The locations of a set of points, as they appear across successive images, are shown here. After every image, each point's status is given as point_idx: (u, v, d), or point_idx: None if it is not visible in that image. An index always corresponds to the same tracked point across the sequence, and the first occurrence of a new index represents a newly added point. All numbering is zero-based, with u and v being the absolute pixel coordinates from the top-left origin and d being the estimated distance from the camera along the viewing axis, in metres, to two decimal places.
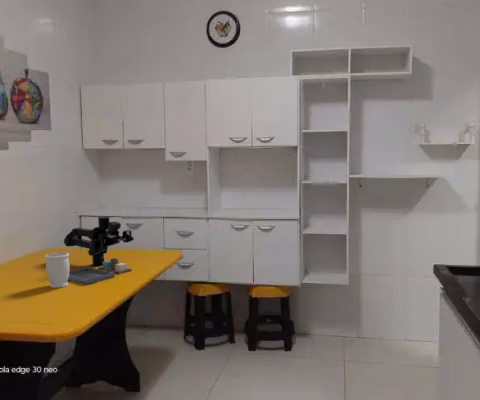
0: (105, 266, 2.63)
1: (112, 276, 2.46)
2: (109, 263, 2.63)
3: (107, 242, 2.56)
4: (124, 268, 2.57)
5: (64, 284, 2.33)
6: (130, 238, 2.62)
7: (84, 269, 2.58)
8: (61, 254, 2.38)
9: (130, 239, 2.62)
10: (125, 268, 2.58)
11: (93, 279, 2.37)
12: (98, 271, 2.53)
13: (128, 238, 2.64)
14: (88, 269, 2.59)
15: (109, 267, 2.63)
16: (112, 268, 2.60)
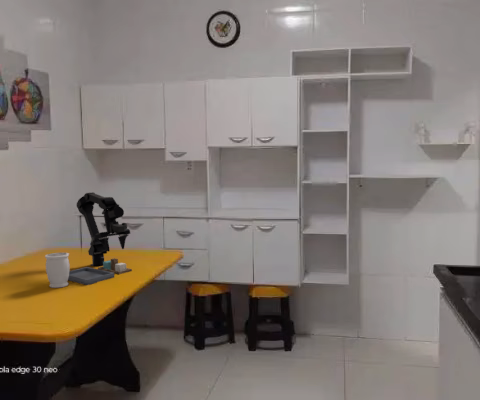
0: (106, 266, 2.62)
1: (112, 276, 2.46)
2: (109, 263, 2.63)
3: (101, 240, 2.55)
4: (124, 268, 2.58)
5: (64, 284, 2.33)
6: (122, 244, 2.63)
7: (84, 269, 2.58)
8: (61, 254, 2.38)
9: (121, 244, 2.63)
10: (125, 268, 2.58)
11: (93, 279, 2.37)
12: (98, 271, 2.53)
13: (121, 241, 2.64)
14: (88, 269, 2.59)
15: (109, 267, 2.63)
16: (112, 268, 2.60)
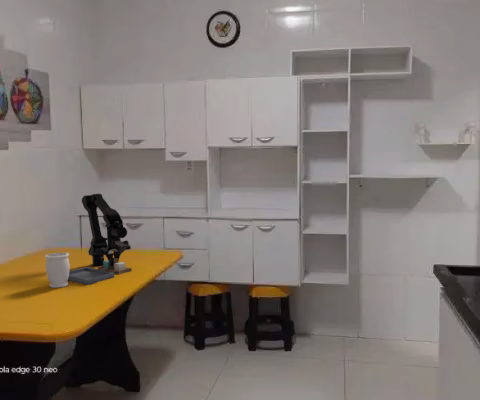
0: (106, 265, 2.62)
1: (112, 276, 2.46)
2: None
3: (106, 254, 2.58)
4: (123, 267, 2.58)
5: (64, 284, 2.33)
6: None
7: (84, 269, 2.58)
8: (61, 254, 2.38)
9: None
10: (124, 267, 2.58)
11: (93, 279, 2.37)
12: (98, 271, 2.53)
13: (115, 256, 2.62)
14: (88, 269, 2.59)
15: (110, 266, 2.62)
16: (112, 267, 2.60)
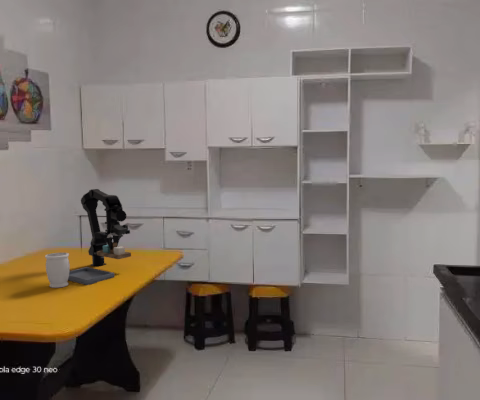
0: (106, 250, 2.61)
1: (112, 276, 2.46)
2: None
3: (105, 238, 2.57)
4: (122, 251, 2.57)
5: (64, 284, 2.33)
6: None
7: (84, 269, 2.58)
8: (61, 254, 2.38)
9: None
10: (123, 251, 2.57)
11: (93, 279, 2.37)
12: (98, 271, 2.53)
13: (115, 240, 2.61)
14: (88, 269, 2.59)
15: (109, 251, 2.61)
16: (111, 252, 2.59)
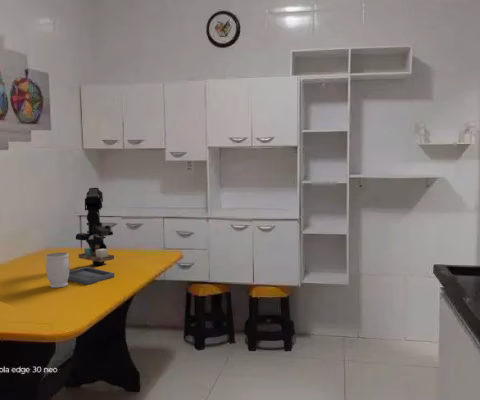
0: (87, 252, 2.52)
1: (112, 276, 2.46)
2: None
3: (87, 239, 2.48)
4: (105, 254, 2.48)
5: (64, 284, 2.33)
6: None
7: (84, 269, 2.58)
8: (61, 254, 2.38)
9: None
10: (106, 254, 2.48)
11: (93, 279, 2.37)
12: (98, 271, 2.53)
13: (97, 242, 2.52)
14: (88, 269, 2.59)
15: (91, 254, 2.52)
16: (93, 254, 2.50)
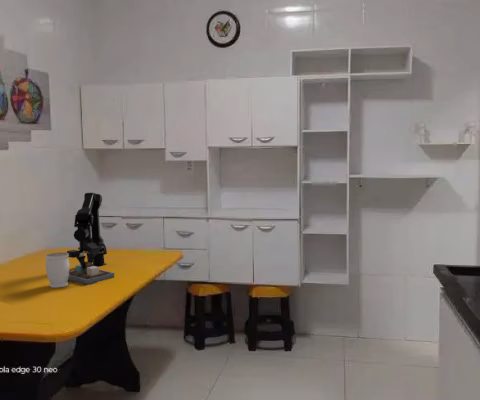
0: (79, 270, 2.48)
1: (112, 276, 2.46)
2: None
3: (77, 256, 2.44)
4: (96, 271, 2.44)
5: (64, 284, 2.33)
6: None
7: None
8: (61, 254, 2.38)
9: None
10: (97, 271, 2.45)
11: (93, 279, 2.37)
12: None
13: (89, 258, 2.49)
14: None
15: None
16: (84, 272, 2.47)
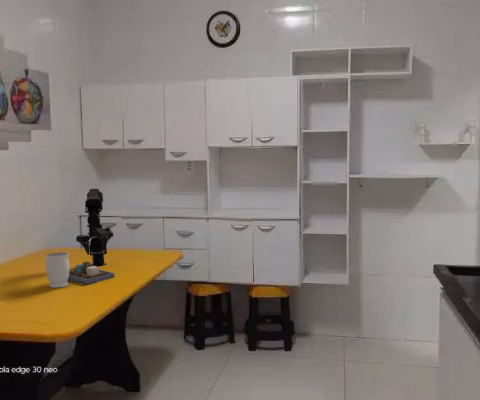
0: (79, 270, 2.48)
1: (112, 276, 2.46)
2: None
3: (82, 242, 2.48)
4: (96, 271, 2.44)
5: (64, 284, 2.33)
6: (103, 246, 2.57)
7: None
8: (61, 254, 2.38)
9: (102, 246, 2.58)
10: (97, 271, 2.45)
11: (93, 279, 2.37)
12: None
13: (103, 242, 2.58)
14: None
15: None
16: (84, 272, 2.47)
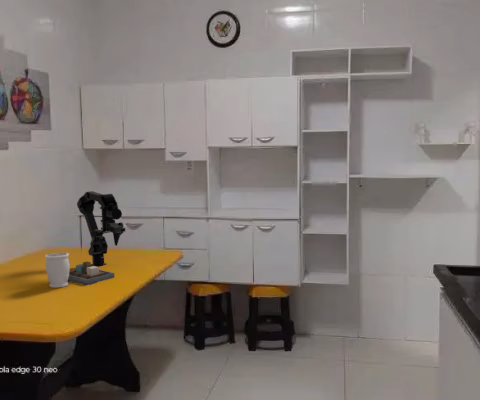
0: (79, 270, 2.48)
1: (112, 276, 2.46)
2: None
3: (96, 236, 2.58)
4: (96, 271, 2.44)
5: (64, 284, 2.33)
6: (115, 241, 2.67)
7: None
8: (61, 254, 2.38)
9: (115, 241, 2.68)
10: (97, 271, 2.45)
11: (93, 279, 2.37)
12: None
13: (115, 237, 2.67)
14: None
15: None
16: (84, 272, 2.47)
